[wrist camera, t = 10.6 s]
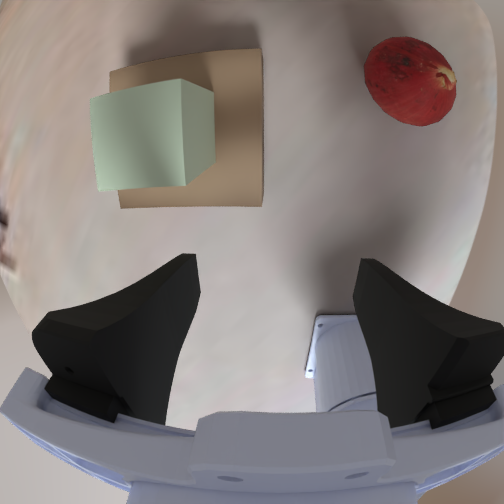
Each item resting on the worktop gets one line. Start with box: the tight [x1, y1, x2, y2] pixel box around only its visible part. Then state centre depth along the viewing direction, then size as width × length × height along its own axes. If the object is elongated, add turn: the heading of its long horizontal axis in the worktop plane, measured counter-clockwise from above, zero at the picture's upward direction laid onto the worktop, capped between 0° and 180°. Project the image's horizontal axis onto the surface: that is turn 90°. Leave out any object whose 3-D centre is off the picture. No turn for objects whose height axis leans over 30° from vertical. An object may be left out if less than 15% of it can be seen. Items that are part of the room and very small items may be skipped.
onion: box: [364, 37, 457, 126], centre depth 11 cm, size 6×6×8 cm
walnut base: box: [110, 49, 264, 209], centre depth 16 cm, size 10×10×3 cm
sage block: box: [90, 79, 216, 192], centre depth 12 cm, size 4×4×6 cm
